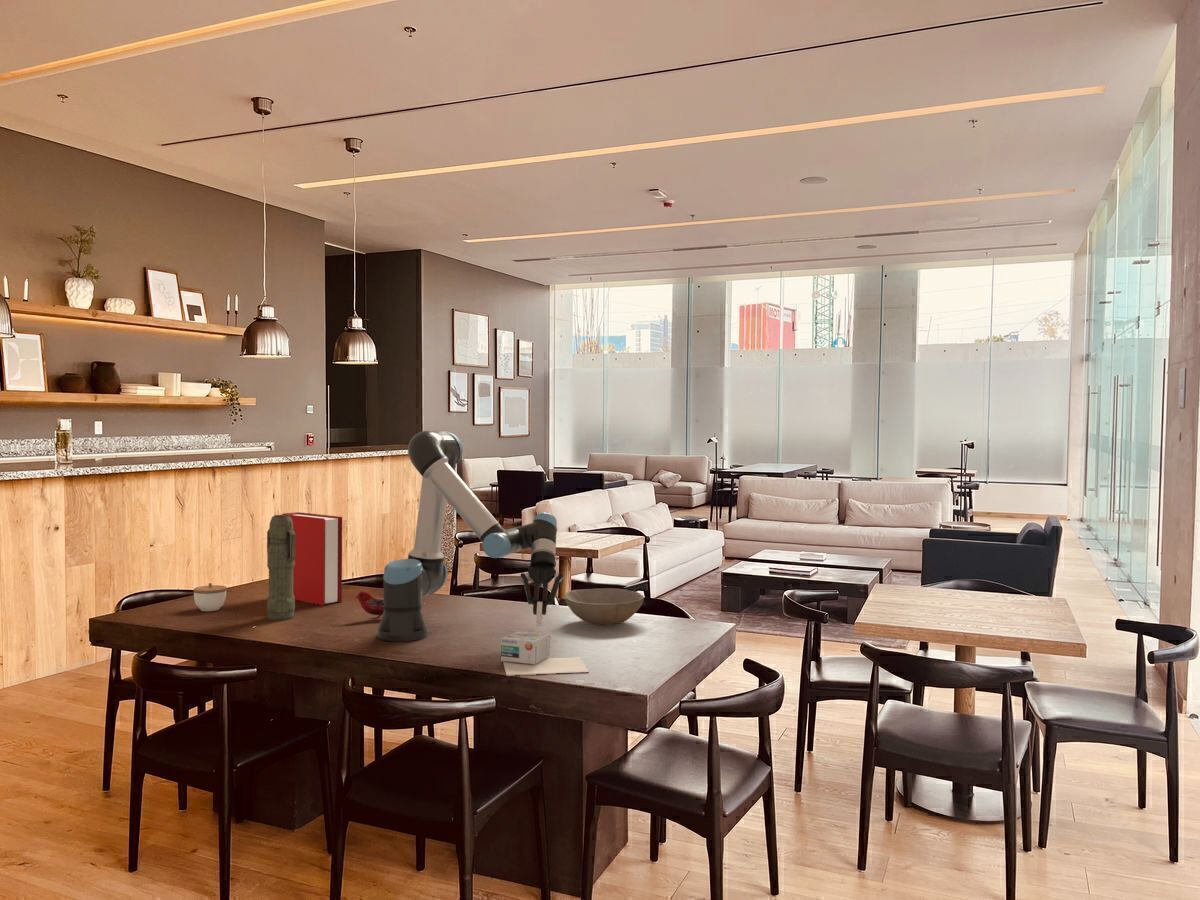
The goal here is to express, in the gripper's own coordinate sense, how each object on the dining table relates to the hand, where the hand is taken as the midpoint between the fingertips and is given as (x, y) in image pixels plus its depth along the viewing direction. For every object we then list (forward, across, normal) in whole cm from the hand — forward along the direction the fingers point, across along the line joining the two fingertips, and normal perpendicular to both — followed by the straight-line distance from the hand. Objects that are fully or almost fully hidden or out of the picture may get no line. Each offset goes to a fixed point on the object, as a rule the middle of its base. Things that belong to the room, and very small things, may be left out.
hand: (538, 623), depth 253 cm
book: (-50, +92, -64) cm, 122 cm away
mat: (+15, -2, +1) cm, 15 cm away
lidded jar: (-35, +121, -49) cm, 135 cm away
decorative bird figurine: (-26, +56, -40) cm, 74 cm away
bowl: (-24, -19, -38) cm, 49 cm away
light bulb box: (+4, +1, -4) cm, 6 cm away
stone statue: (-27, +91, -41) cm, 103 cm away
